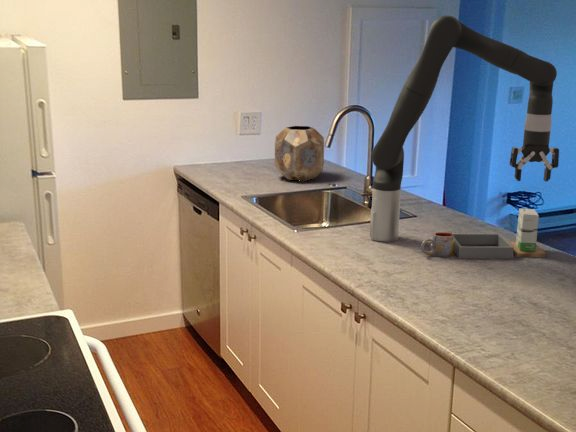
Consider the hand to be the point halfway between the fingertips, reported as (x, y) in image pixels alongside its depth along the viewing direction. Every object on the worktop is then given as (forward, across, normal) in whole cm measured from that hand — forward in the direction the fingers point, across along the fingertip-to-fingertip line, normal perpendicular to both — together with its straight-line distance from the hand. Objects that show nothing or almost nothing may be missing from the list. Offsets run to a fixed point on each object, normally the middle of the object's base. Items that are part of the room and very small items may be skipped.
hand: (532, 180), depth 216 cm
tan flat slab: (+23, 0, 0) cm, 23 cm away
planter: (+24, -70, +107) cm, 130 cm away
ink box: (+22, 0, 0) cm, 22 cm away
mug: (+23, -29, -4) cm, 38 cm away
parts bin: (+23, -14, 0) cm, 27 cm away
